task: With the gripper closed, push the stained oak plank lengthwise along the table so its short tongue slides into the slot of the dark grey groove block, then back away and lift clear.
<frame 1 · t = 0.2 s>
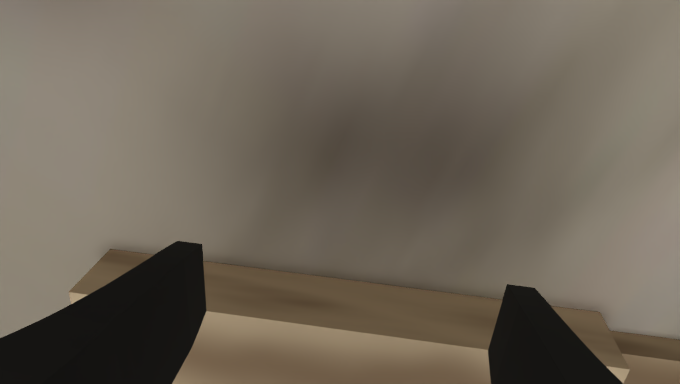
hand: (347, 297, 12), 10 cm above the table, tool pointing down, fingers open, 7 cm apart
oak plank: (341, 325, 25), on the table
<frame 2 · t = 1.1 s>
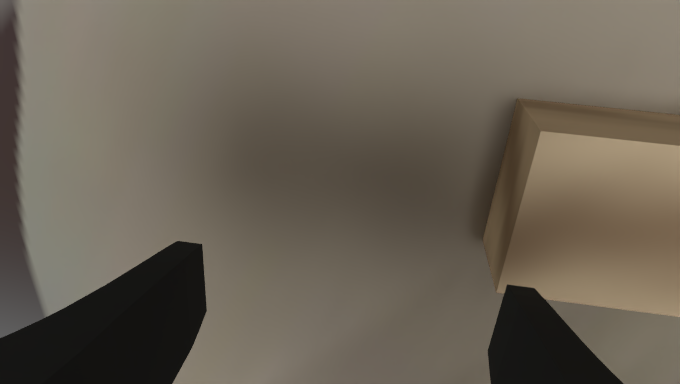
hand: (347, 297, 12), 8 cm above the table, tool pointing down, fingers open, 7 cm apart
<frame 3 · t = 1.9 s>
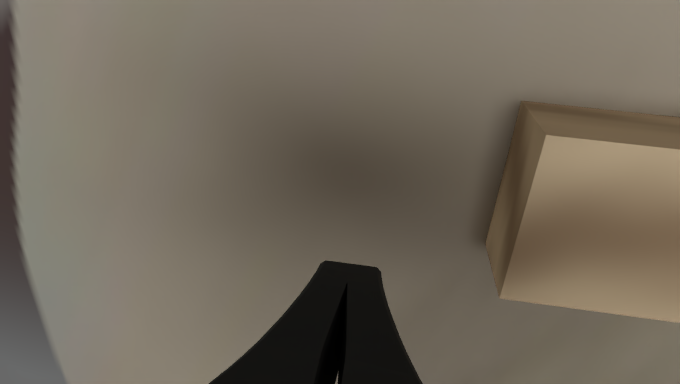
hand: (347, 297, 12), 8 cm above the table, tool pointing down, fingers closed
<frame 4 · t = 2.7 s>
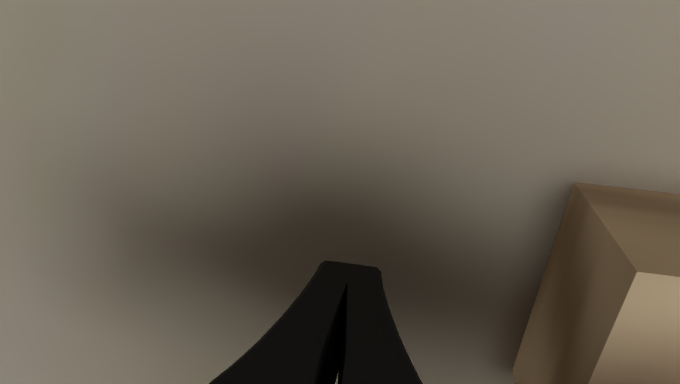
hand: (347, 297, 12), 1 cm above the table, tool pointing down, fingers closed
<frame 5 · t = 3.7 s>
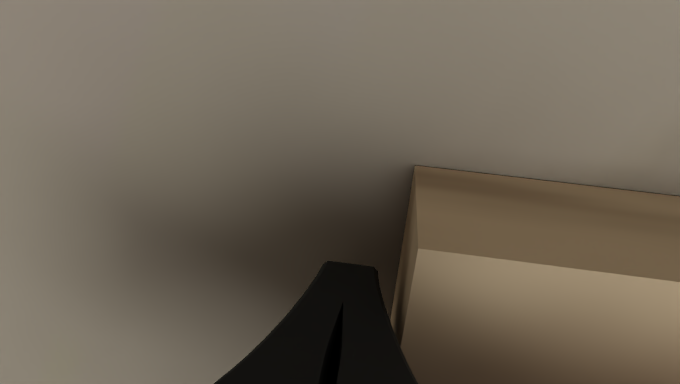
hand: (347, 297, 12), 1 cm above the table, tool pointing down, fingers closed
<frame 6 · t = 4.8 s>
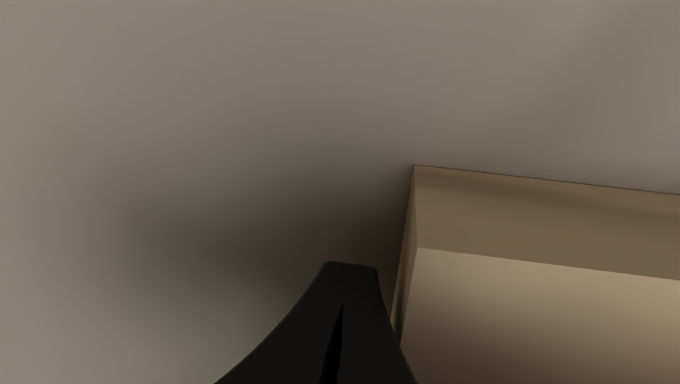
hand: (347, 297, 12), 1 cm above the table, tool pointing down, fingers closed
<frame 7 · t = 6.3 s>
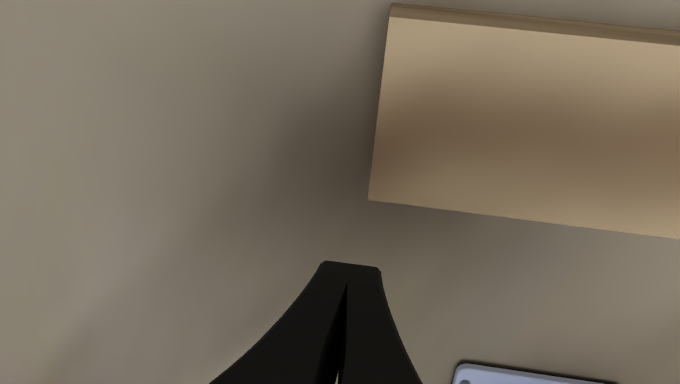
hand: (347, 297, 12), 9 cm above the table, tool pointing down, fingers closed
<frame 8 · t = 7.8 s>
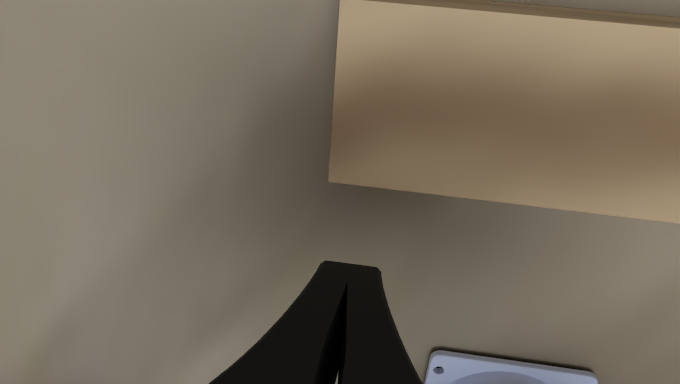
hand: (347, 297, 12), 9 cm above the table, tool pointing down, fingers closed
oak plank: (670, 105, 18), on the table
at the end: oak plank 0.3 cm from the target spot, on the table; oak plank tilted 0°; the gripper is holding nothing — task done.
